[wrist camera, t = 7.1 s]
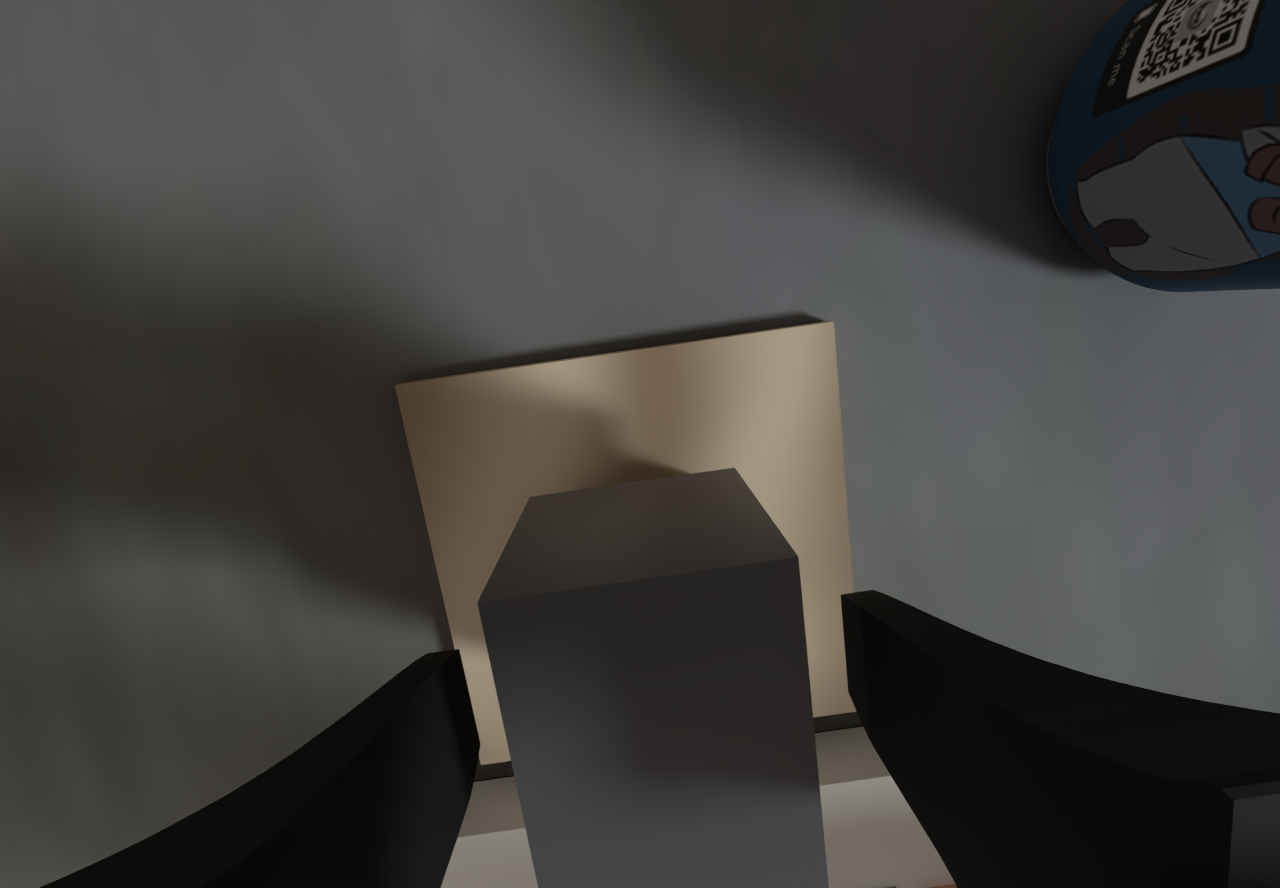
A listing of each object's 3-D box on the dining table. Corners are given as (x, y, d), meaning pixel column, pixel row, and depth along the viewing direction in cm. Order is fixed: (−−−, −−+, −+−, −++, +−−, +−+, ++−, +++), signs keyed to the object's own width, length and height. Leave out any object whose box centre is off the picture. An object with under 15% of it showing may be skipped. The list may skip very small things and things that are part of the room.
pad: (826, 321, 16) (833, 321, 15) (854, 697, 18) (862, 710, 18) (403, 382, 16) (394, 385, 15) (485, 750, 18) (481, 765, 18)
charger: (717, 443, 16) (798, 556, 9) (741, 652, 17) (830, 906, 10) (543, 468, 16) (477, 602, 9) (581, 675, 17) (550, 946, 10)
